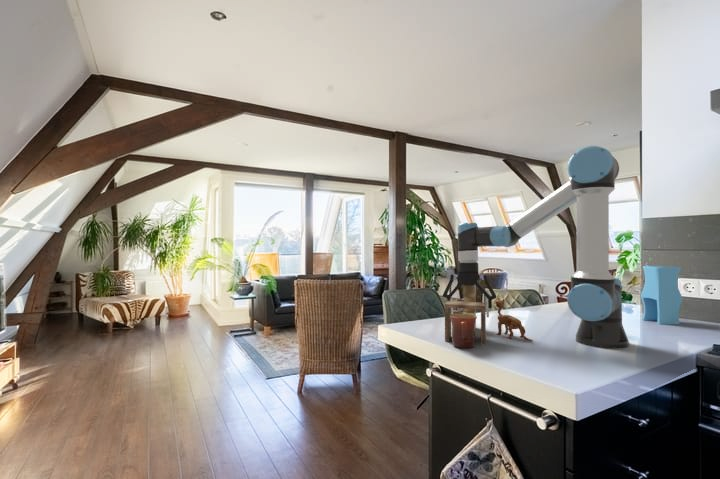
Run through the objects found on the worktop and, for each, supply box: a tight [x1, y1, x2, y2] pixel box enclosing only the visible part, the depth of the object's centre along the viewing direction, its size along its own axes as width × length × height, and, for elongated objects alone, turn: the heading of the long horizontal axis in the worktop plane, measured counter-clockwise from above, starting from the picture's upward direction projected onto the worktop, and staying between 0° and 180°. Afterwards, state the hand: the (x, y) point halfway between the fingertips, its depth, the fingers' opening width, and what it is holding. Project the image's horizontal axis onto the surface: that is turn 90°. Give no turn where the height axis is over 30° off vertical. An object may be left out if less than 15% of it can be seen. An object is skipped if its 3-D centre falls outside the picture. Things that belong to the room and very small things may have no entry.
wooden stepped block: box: [462, 284, 477, 331], centre depth 140 cm, size 4×25×20 cm, turn 159°
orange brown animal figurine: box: [495, 297, 534, 342], centre depth 134 cm, size 18×7×14 cm, turn 20°
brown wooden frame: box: [444, 300, 487, 346], centre depth 130 cm, size 13×8×13 cm, turn 69°
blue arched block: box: [640, 265, 683, 325], centre depth 158 cm, size 10×10×25 cm
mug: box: [450, 313, 478, 350], centre depth 121 cm, size 12×9×10 cm
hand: (469, 315), depth 143 cm, fingers open, 13 cm apart
